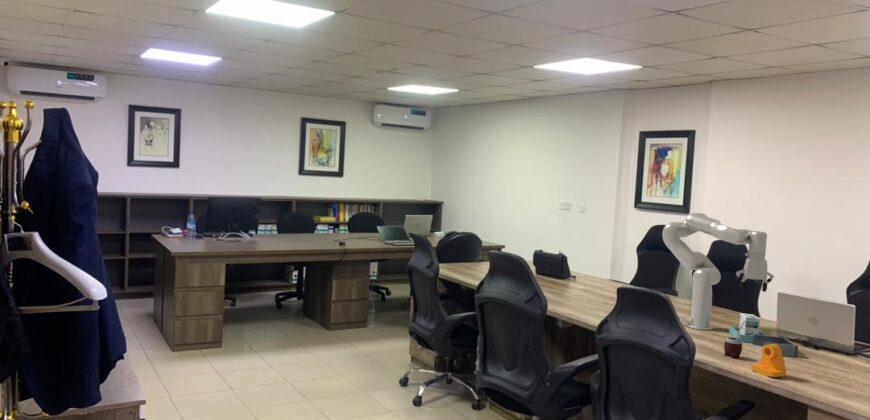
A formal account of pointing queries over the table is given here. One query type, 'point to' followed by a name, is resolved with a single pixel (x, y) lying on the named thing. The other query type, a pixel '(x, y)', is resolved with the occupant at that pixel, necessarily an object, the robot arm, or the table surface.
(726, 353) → the mate gourd
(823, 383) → the table surface
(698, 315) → the robot arm
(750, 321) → the light bulb box
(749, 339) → the tray
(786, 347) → the tray
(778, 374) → the bracket
